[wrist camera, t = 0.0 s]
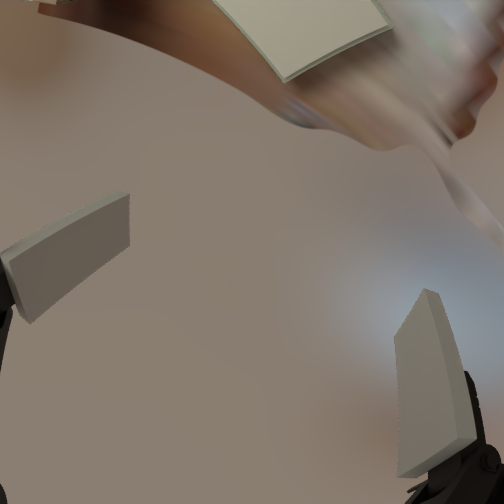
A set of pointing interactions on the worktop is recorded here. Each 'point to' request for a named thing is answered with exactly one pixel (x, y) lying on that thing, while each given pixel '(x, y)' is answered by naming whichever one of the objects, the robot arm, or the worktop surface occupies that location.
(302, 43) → the stand
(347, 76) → the worktop surface
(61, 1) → the tea box
